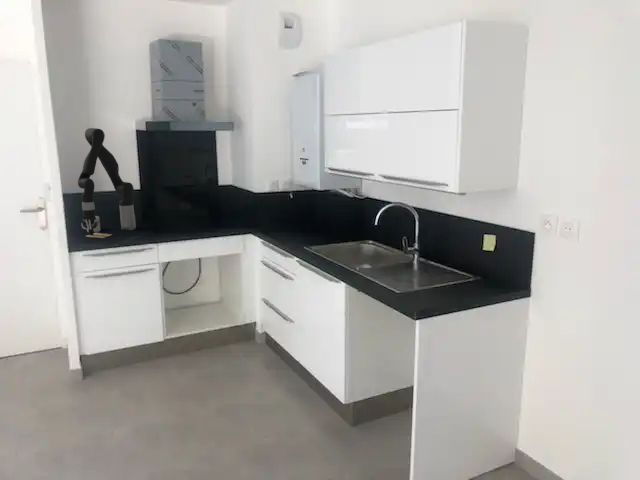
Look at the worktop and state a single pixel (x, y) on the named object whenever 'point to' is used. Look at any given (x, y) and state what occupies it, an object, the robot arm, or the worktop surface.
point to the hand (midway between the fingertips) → (91, 234)
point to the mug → (94, 228)
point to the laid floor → (104, 235)
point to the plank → (95, 235)
